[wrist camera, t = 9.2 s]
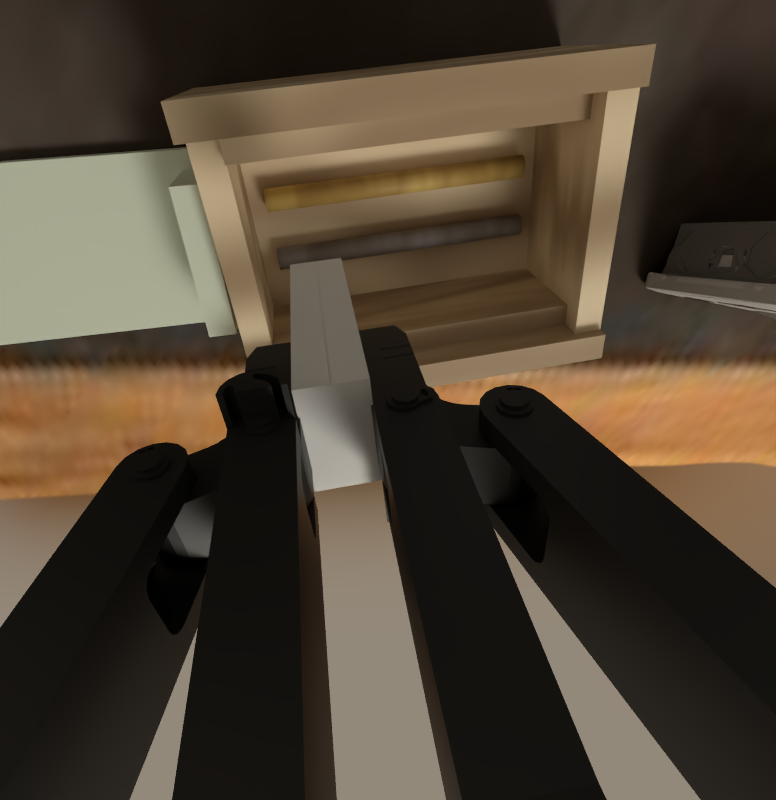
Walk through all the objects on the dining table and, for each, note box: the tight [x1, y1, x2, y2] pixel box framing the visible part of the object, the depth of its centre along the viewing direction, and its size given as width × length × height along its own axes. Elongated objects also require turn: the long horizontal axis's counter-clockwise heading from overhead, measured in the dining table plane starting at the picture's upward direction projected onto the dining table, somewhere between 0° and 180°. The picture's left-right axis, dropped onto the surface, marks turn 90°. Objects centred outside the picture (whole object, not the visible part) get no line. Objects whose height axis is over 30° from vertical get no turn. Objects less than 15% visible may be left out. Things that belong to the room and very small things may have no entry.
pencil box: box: [161, 44, 656, 387], centre depth 22 cm, size 12×16×7 cm
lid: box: [0, 147, 238, 345], centre depth 22 cm, size 8×14×4 cm, turn 93°
